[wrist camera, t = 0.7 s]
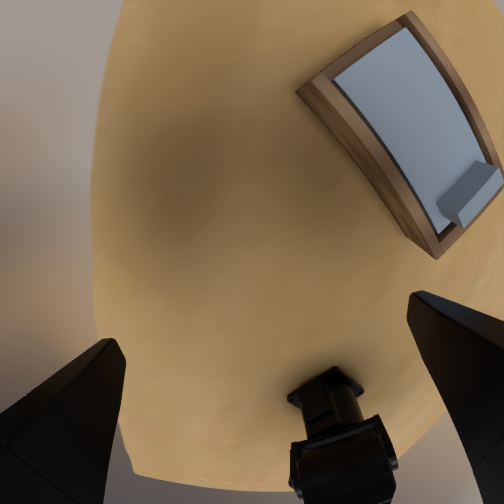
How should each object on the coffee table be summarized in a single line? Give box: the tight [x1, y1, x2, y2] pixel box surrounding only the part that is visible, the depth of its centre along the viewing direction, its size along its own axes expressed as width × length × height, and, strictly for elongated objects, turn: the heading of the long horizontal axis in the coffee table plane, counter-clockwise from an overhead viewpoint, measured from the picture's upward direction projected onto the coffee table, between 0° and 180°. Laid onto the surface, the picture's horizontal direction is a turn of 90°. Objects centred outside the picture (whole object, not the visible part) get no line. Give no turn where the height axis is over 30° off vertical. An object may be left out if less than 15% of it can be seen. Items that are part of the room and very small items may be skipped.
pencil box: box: [295, 10, 504, 261], centre depth 16 cm, size 14×9×5 cm, turn 43°
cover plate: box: [330, 27, 504, 234], centre depth 13 cm, size 12×7×3 cm, turn 43°
